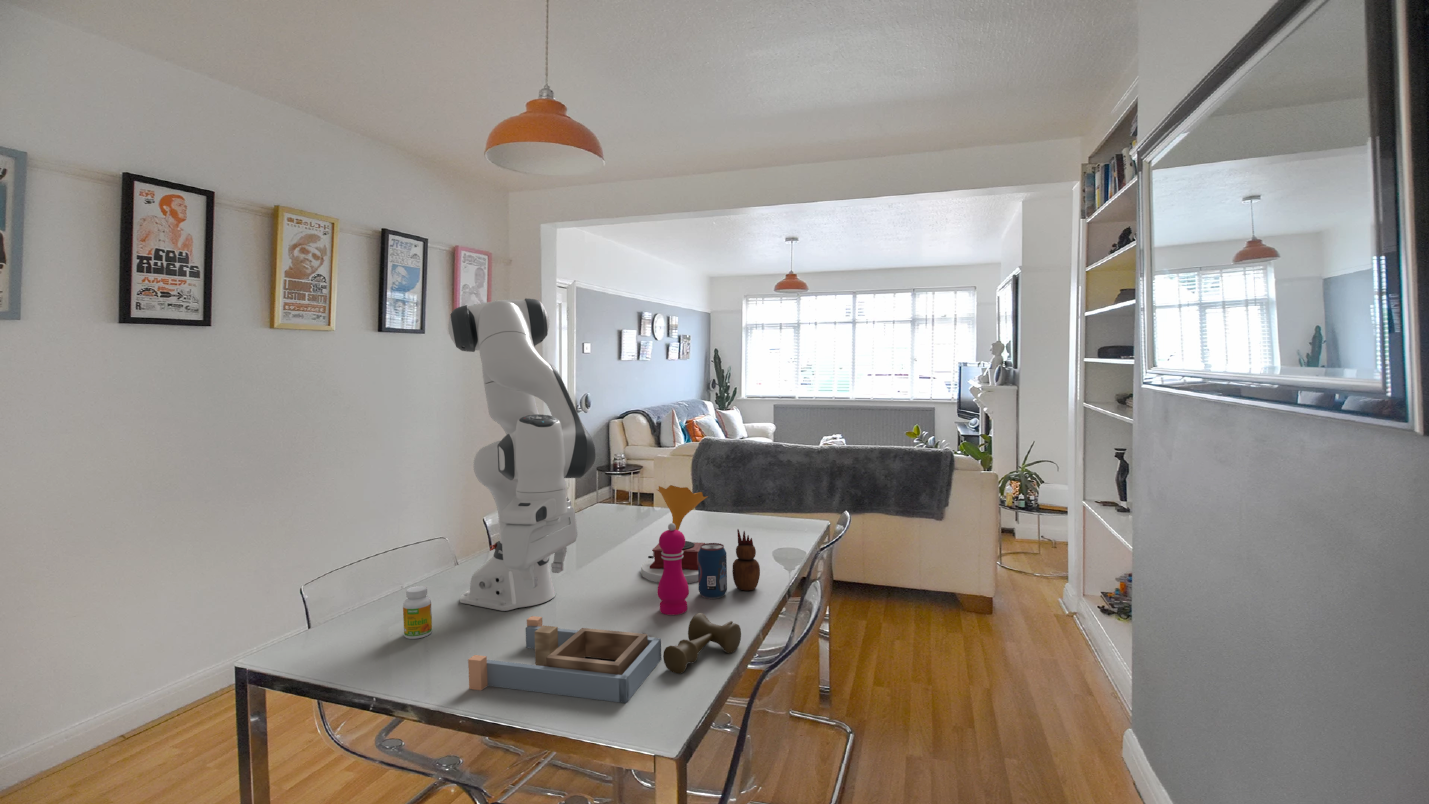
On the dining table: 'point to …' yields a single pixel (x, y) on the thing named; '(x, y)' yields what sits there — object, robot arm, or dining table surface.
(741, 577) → the wooden figurine
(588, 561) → the dining table surface
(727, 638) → the kendama
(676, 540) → the pepper mill
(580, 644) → the wooden square frame
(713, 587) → the soda can
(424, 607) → the supplement bottle
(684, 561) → the gramophone
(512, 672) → the frame
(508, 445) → the robot arm
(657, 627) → the dining table surface
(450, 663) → the dining table surface
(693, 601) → the dining table surface
